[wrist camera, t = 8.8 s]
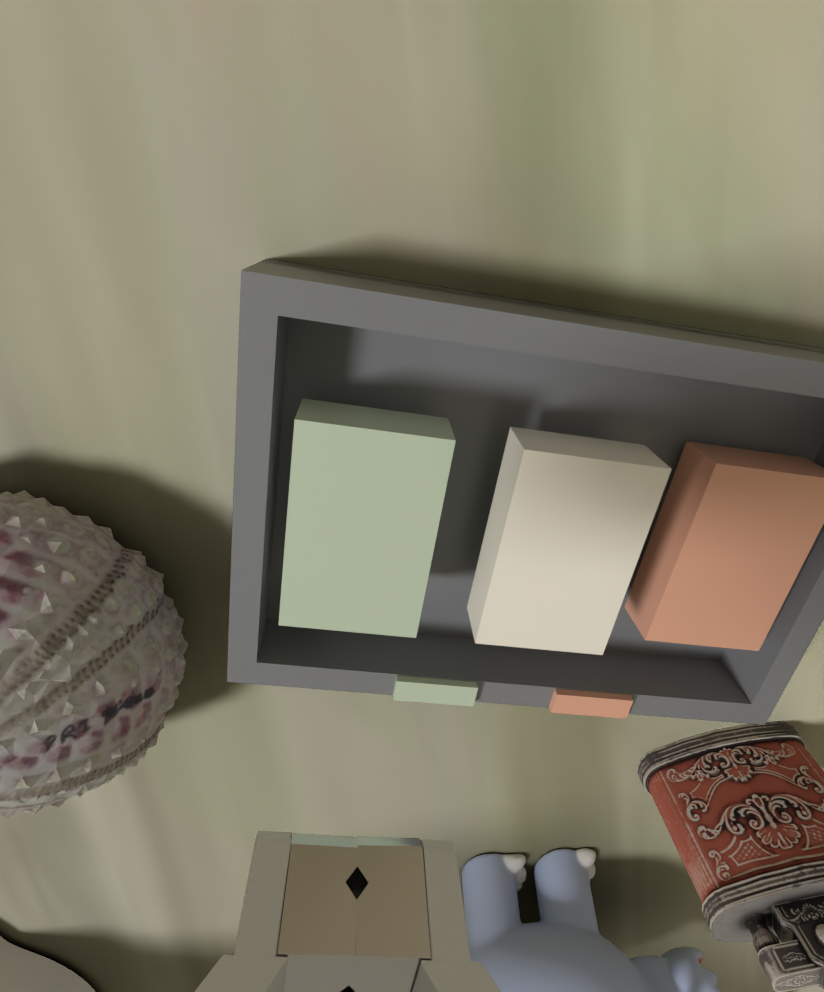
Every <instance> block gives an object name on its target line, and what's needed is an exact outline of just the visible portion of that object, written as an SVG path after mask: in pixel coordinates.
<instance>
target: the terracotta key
mask: <svg viewBox="0 0 824 992" xmlns="http://www.w3.org/2000/svg"><path fill="white" fill-rule="evenodd" d="M823 524H824V468H823V467H821V466H819V465H817V464H816V463H814V462H812V461H810V460H809V459H807V458H805V457H797V456H790V455H783V454H776V453H768V452H761V451H754V450H747V449H739V448H732V447H725V446H718V445H710V444H703V443H696V442H689V441H686V444H685V447H684V449H683V452H682V455H681V457H680V460H679V463H678V465H677V468H676V471H675V473H674V476H673V479H672V481H671V484H670V487H669V489H668V492H667V495H666V497H665V500H664V503H663V505H662V508H661V511H660V513H659V516H658V519H657V521H656V524H655V527H654V529H653V532H652V535H651V537H650V540H649V543H648V545H647V548H646V551H645V553H644V556H643V559H642V561H641V564H640V567H639V569H638V572H637V575H636V577H635V580H634V583H633V585H632V588H631V591H630V593H629V596H628V599H627V601H626V604H625V609H626V611H627V612H628V614H629V615H630V617H631V619H632V620H633V622H634V623H635V625H636V627H637V628H638V630H639V631H640V633H641V635H642V636H643V638H644V639H645V640H648V641H659V642H669V643H680V644H690V645H701V646H711V647H722V648H732V649H742V650H753V651H759V650H760V648H761V646H762V644H763V642H764V640H765V638H766V636H767V634H768V632H769V630H770V628H771V626H772V624H773V622H774V620H775V618H776V616H777V614H778V612H779V610H780V608H781V606H782V605H783V603H784V601H785V599H786V597H787V595H788V593H789V591H790V589H791V587H792V585H793V583H794V581H795V579H796V577H797V575H798V573H799V571H800V569H801V567H802V565H803V563H804V561H805V559H806V557H807V555H808V553H809V552H810V550H811V548H812V546H813V544H814V542H815V540H816V538H817V536H818V534H819V532H820V530H821V528H822V526H823Z"/></svg>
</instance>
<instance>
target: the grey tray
mask: <svg viewBox="0 0 824 992" xmlns="http://www.w3.org/2000/svg"><path fill="white" fill-rule="evenodd" d="M302 398H304V399H311V400H319V401H326V402H333V403H341V404H348V405H355V406H363V407H370V408H378V409H385V410H392V411H400V412H407V413H414V414H422V415H429V416H436V417H444V418H448V419H449V422H450V425H451V428H452V431H453V434H454V437H455V440H456V442H455V447H454V452H453V457H452V462H451V467H450V472H449V477H448V482H447V487H446V492H445V497H444V502H443V507H442V512H441V517H440V522H439V527H438V532H437V537H436V542H435V547H434V552H433V557H432V561H431V566H430V571H429V576H428V581H427V586H426V591H425V596H424V601H423V606H422V611H421V616H420V621H419V626H418V631H417V636H416V638H411V637H400V636H389V635H378V634H367V633H356V632H345V631H334V630H323V629H313V628H302V627H291V626H280V625H278V624H279V611H280V598H281V585H282V573H283V560H284V547H285V534H286V521H287V509H288V496H289V483H290V470H291V457H292V445H293V432H294V419H295V417H296V414H297V411H298V409H299V406H300V404H301V401H302ZM510 427H517V428H525V429H532V430H539V431H547V432H554V433H561V434H569V435H576V436H583V437H591V438H598V439H605V440H613V441H620V442H627V443H635V444H642V445H645V446H646V447H647V448H649V449H650V450H651V451H652V452H653V453H654V454H655V455H657V456H658V457H659V458H660V459H661V460H662V461H663V462H664V463H666V464H667V465H668V466H669V467H670V468H671V469H672V470H671V473H670V475H669V478H668V481H667V483H666V486H665V489H664V491H663V494H662V497H661V500H660V502H659V505H658V508H657V510H656V513H655V516H654V518H653V521H652V524H651V526H650V529H649V532H648V535H647V537H646V540H645V543H644V545H643V548H642V551H641V553H640V556H639V559H638V561H637V564H636V567H635V570H634V572H633V575H632V578H631V580H630V583H629V586H628V588H627V591H626V594H625V596H624V599H623V602H622V605H621V607H620V610H619V613H618V615H617V618H616V621H615V623H614V626H613V629H612V631H611V634H610V637H609V640H608V642H607V645H606V648H605V650H604V653H603V655H596V654H585V653H574V652H563V651H552V650H541V649H531V648H520V647H509V646H498V645H487V644H476V643H475V641H474V637H473V632H472V628H471V623H470V619H469V615H468V610H467V605H468V601H469V596H470V592H471V588H472V584H473V580H474V576H475V571H476V567H477V563H478V559H479V555H480V551H481V546H482V542H483V538H484V534H485V530H486V525H487V521H488V517H489V513H490V509H491V505H492V500H493V496H494V492H495V488H496V484H497V479H498V475H499V471H500V467H501V463H502V459H503V454H504V450H505V446H506V442H507V438H508V433H509V429H510ZM686 441H689V442H696V443H703V444H710V445H718V446H725V447H732V448H739V449H747V450H754V451H761V452H768V453H776V454H783V455H790V456H797V457H805V458H807V459H809V460H810V461H812V462H814V463H816V464H817V465H819V466H821V467H823V468H824V349H821V348H815V347H809V346H803V345H796V344H790V343H784V342H778V341H772V340H766V339H759V338H753V337H747V336H741V335H735V334H728V333H722V332H716V331H710V330H704V329H698V328H691V327H685V326H679V325H673V324H667V323H661V322H654V321H648V320H642V319H636V318H630V317H623V316H617V315H611V314H605V313H599V312H593V311H586V310H580V309H574V308H568V307H562V306H555V305H549V304H543V303H537V302H531V301H525V300H518V299H512V298H506V297H500V296H494V295H487V294H481V293H475V292H469V291H463V290H457V289H450V288H444V287H438V286H432V285H426V284H419V283H413V282H407V281H401V280H395V279H389V278H382V277H376V276H370V275H364V274H358V273H352V272H345V271H339V270H333V269H327V268H321V267H314V266H308V265H302V264H296V263H290V262H284V261H277V260H271V259H265V260H263V261H261V262H258V263H256V264H254V265H252V266H250V267H247V268H245V269H243V270H241V290H240V319H239V348H238V376H237V405H236V434H235V463H234V491H233V520H232V549H231V577H230V606H229V635H228V664H227V682H236V683H248V684H261V685H273V686H285V687H298V688H310V689H323V690H335V691H348V692H360V693H373V694H385V695H393V700H398V701H411V702H424V703H436V704H449V705H462V706H473V705H474V702H485V703H498V704H510V705H523V706H535V707H548V708H549V709H550V712H551V713H563V714H575V715H588V716H601V717H613V718H627V715H628V714H635V715H647V716H660V717H672V718H685V719H697V720H710V721H722V722H735V723H747V724H760V725H765V724H766V722H767V720H768V719H769V717H770V715H771V713H772V711H773V709H774V708H775V706H776V704H777V702H778V700H779V699H780V697H781V695H782V693H783V691H784V689H785V688H786V686H787V684H788V682H789V680H790V679H791V677H792V675H793V673H794V671H795V670H796V668H797V666H798V664H799V662H800V660H801V659H802V657H803V655H804V653H805V651H806V650H807V648H808V646H809V644H810V642H811V641H812V639H813V637H814V635H815V633H816V631H817V630H818V628H819V626H820V624H821V622H822V621H823V619H824V524H823V526H822V528H821V530H820V532H819V534H818V536H817V538H816V540H815V542H814V544H813V546H812V548H811V550H810V552H809V553H808V555H807V557H806V559H805V561H804V563H803V565H802V567H801V569H800V571H799V573H798V575H797V577H796V579H795V581H794V583H793V585H792V587H791V589H790V591H789V593H788V595H787V597H786V599H785V601H784V603H783V605H782V606H781V608H780V610H779V612H778V614H777V616H776V618H775V620H774V622H773V624H772V626H771V628H770V630H769V632H768V634H767V636H766V638H765V640H764V642H763V644H762V646H761V648H760V650H759V651H753V650H742V649H732V648H722V647H711V646H701V645H690V644H680V643H669V642H659V641H648V640H645V639H644V638H643V636H642V635H641V633H640V631H639V630H638V628H637V627H636V625H635V623H634V622H633V620H632V619H631V617H630V615H629V614H628V612H627V611H626V609H625V604H626V601H627V599H628V596H629V593H630V591H631V588H632V585H633V583H634V580H635V577H636V575H637V572H638V569H639V567H640V564H641V561H642V559H643V556H644V553H645V551H646V548H647V545H648V543H649V540H650V537H651V535H652V532H653V529H654V527H655V524H656V521H657V519H658V516H659V513H660V511H661V508H662V505H663V503H664V500H665V497H666V495H667V492H668V489H669V487H670V484H671V481H672V479H673V476H674V473H675V471H676V468H677V465H678V463H679V460H680V457H681V455H682V452H683V449H684V447H685V444H686Z"/></svg>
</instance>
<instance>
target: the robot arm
mask: <svg viewBox="0 0 824 992" xmlns="http://www.w3.org/2000/svg"><path fill="white" fill-rule="evenodd" d="M291 840H292V843H291ZM290 849H291V850H290ZM0 992H95V990H94V989H93V988H92V987H91V986H90V985H89V984H88V983H87V982H86V981H85V980H83V979H82V978H81V977H80V976H78V975H77V974H76V973H74V972H73V971H71V970H69V969H68V968H66V967H64V966H63V965H61V964H59V963H57V962H55V961H53V960H51V959H48V958H46V957H44V956H41V955H38V954H36V953H33V952H30V951H28V950H25V949H22V948H20V947H18V946H15V945H13V944H11V943H9V942H7V941H6V940H5V939H3V938H2V937H1V936H0ZM194 992H501V991H500V990H499V988H498V987H497V985H496V984H495V982H494V981H493V979H492V978H491V976H490V975H489V973H488V972H487V970H486V969H485V967H484V966H483V964H482V963H481V962H474V961H471V957H470V949H469V942H468V934H467V926H466V919H465V911H464V904H463V896H462V888H461V881H460V873H459V866H458V858H457V851H456V848H455V846H454V843H453V842H452V841H450V840H420V839H419V838H392V837H362V836H357V837H346V836H330V835H313V834H297V833H293V836H292V833H290V832H268V831H258V834H257V838H256V841H255V844H254V849H253V854H252V860H251V865H250V870H249V876H248V881H247V886H246V891H245V897H244V902H243V907H242V912H241V918H240V923H239V928H238V934H237V939H236V944H235V949H234V955H222V956H221V958H220V959H219V960H218V962H217V963H216V964H215V965H214V967H213V968H212V969H211V971H210V972H209V973H208V975H207V976H206V977H205V978H204V980H203V981H202V982H201V984H200V985H199V986H198V988H197V989H196V990H195V991H194Z"/></svg>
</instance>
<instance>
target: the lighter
mask: <svg viewBox="0 0 824 992" xmlns="http://www.w3.org/2000/svg"><path fill="white" fill-rule="evenodd" d="M637 772H638V775H639V778H640V780H641V782H642V784H643V786H644V788H645V790H646V792H647V793H648V794H649V795H650V796H652V797H653V799H654V801H655V804H656V806H657V808H658V810H659V812H660V814H661V816H662V818H663V821H664V823H665V825H666V827H667V829H668V831H669V833H670V835H671V838H672V840H673V842H674V844H675V846H676V848H677V850H678V852H679V855H680V857H681V859H682V861H683V863H684V865H685V867H686V869H687V872H688V874H689V876H690V878H691V880H692V882H693V884H694V886H695V889H696V891H697V893H698V895H699V897H700V899H701V901H702V903H703V905H702V913H703V915H704V918H705V920H706V922H707V924H708V926H709V929H710V931H711V933H712V935H713V936H714V937H715V938H716V939H717V940H720V941H723V942H729V943H736V942H746V941H753V943H754V947H755V949H756V951H757V953H758V959H759V962H760V964H761V966H762V967H763V969H764V971H765V973H766V975H767V977H768V979H769V981H770V983H771V985H772V987H773V989H774V990H775V991H776V992H786V991H791V990H796V989H801V988H806V987H811V986H816V985H818V986H820V987H822V988H823V989H824V772H823V770H822V769H821V768H820V767H819V765H818V764H817V763H816V762H815V760H814V759H813V758H812V757H811V755H810V754H809V753H808V752H807V747H806V743H805V742H804V741H803V739H802V738H801V737H800V736H799V734H798V733H797V732H796V731H795V729H794V728H793V727H792V726H791V725H790V724H788V723H786V722H778V721H777V722H767V723H766V724H765V725H760V724H746V725H741V726H735V727H730V728H724V729H718V730H713V731H710V732H706V733H703V734H699V735H696V736H692V737H688V738H685V739H682V740H679V741H676V742H673V743H671V744H668V745H665V746H662V747H660V748H657V749H654V750H652V751H650V752H648V753H646V754H645V755H644V756H643V757H642V758H641V759H640V761H639V763H638V766H637ZM778 939H779V940H780V941H781V942H782V943H780V942H779V940H778Z"/></svg>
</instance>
